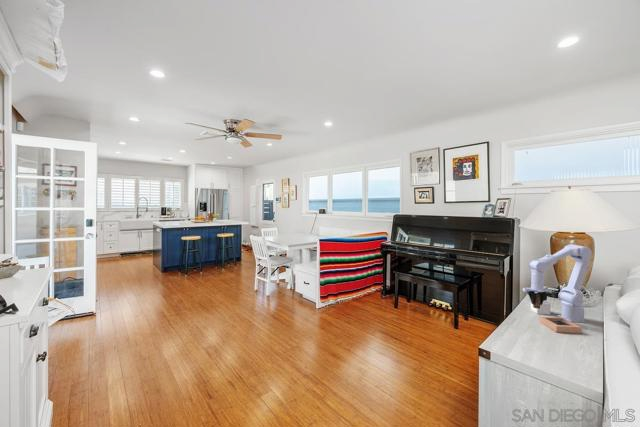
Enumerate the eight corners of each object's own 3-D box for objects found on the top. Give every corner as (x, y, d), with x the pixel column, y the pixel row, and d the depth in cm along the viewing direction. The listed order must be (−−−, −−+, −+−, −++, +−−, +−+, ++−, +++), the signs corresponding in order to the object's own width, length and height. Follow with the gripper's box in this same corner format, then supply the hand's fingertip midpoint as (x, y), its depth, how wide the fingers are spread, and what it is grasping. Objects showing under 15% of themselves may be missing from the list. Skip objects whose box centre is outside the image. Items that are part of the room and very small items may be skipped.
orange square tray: (562, 323, 151) (562, 317, 151) (581, 333, 139) (581, 327, 139) (539, 322, 152) (540, 316, 152) (556, 332, 140) (556, 326, 140)
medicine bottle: (550, 315, 162) (551, 295, 162) (537, 314, 164) (537, 294, 164) (543, 310, 169) (543, 292, 169) (530, 309, 171) (531, 291, 171)
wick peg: (537, 306, 158) (537, 295, 157) (541, 308, 154) (541, 296, 154) (531, 306, 158) (532, 294, 158) (535, 308, 155) (535, 296, 155)
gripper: (528, 282, 152) (527, 306, 153) (556, 283, 151) (555, 307, 151) (520, 279, 159) (520, 301, 160) (546, 280, 158) (546, 302, 158)
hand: (536, 304), depth 156 cm, fingers closed on wick peg, 3 cm apart
